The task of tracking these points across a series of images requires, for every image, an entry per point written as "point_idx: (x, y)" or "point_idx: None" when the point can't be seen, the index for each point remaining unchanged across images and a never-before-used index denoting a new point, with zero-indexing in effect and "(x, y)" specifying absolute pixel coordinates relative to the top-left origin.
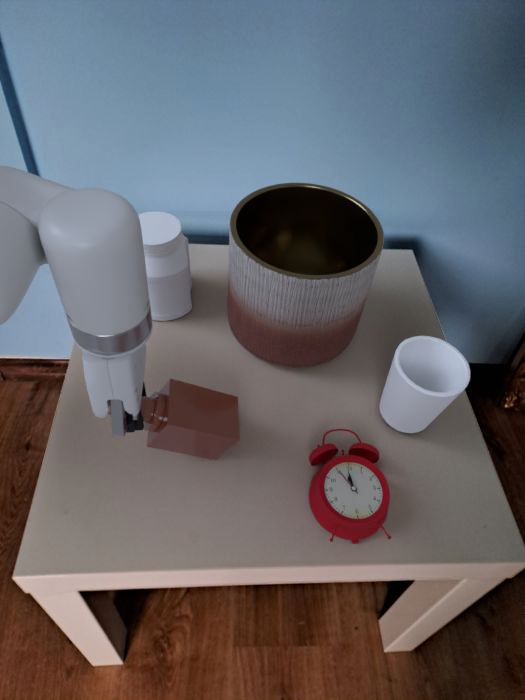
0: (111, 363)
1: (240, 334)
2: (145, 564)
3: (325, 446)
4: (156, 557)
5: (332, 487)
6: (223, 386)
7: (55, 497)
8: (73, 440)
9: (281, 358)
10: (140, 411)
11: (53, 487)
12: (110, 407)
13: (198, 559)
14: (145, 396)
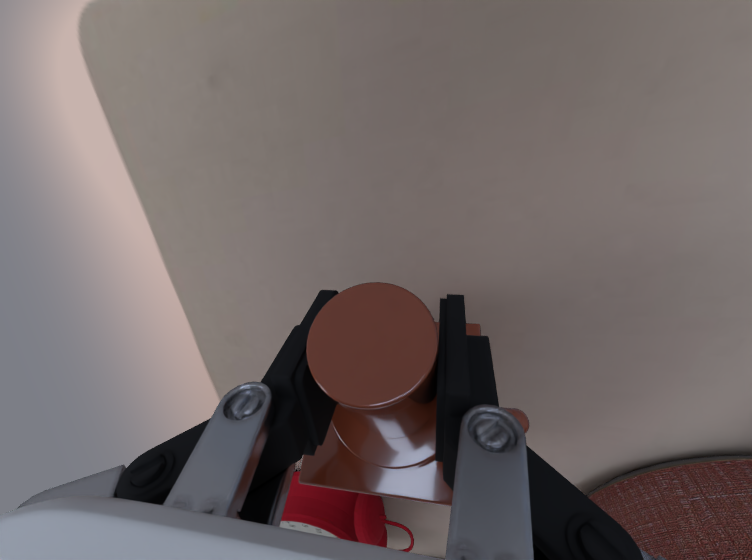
0: None
1: (696, 509)
2: (172, 269)
3: (368, 543)
4: (187, 285)
5: (307, 528)
6: (548, 405)
7: (239, 32)
8: (419, 33)
9: None
10: (309, 454)
11: (263, 14)
12: (165, 504)
13: (204, 342)
14: (420, 421)
